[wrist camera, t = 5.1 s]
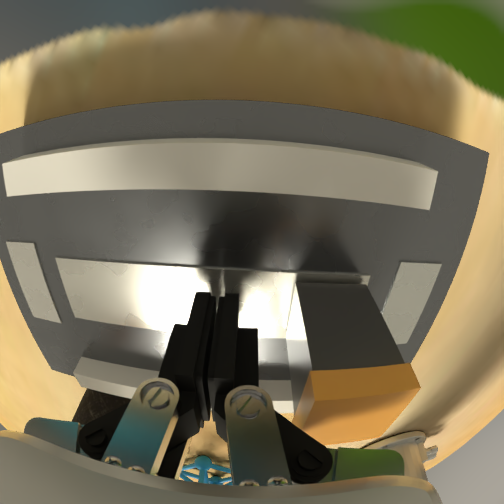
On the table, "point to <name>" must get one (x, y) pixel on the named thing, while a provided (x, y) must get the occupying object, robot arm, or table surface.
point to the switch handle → (344, 364)
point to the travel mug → (97, 405)
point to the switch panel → (223, 226)
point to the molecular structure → (205, 471)
